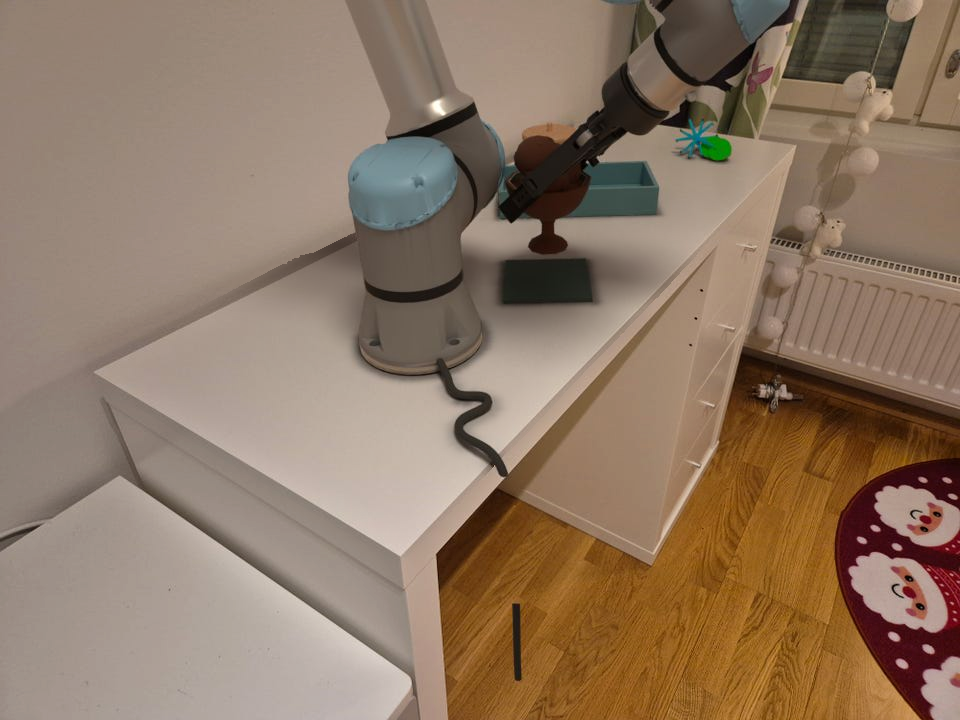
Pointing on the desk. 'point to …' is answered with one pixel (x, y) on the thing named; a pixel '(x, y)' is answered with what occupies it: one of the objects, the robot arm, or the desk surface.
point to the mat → (546, 281)
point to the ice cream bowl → (548, 192)
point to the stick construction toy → (707, 143)
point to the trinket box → (550, 132)
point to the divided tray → (610, 190)
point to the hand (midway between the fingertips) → (529, 200)
